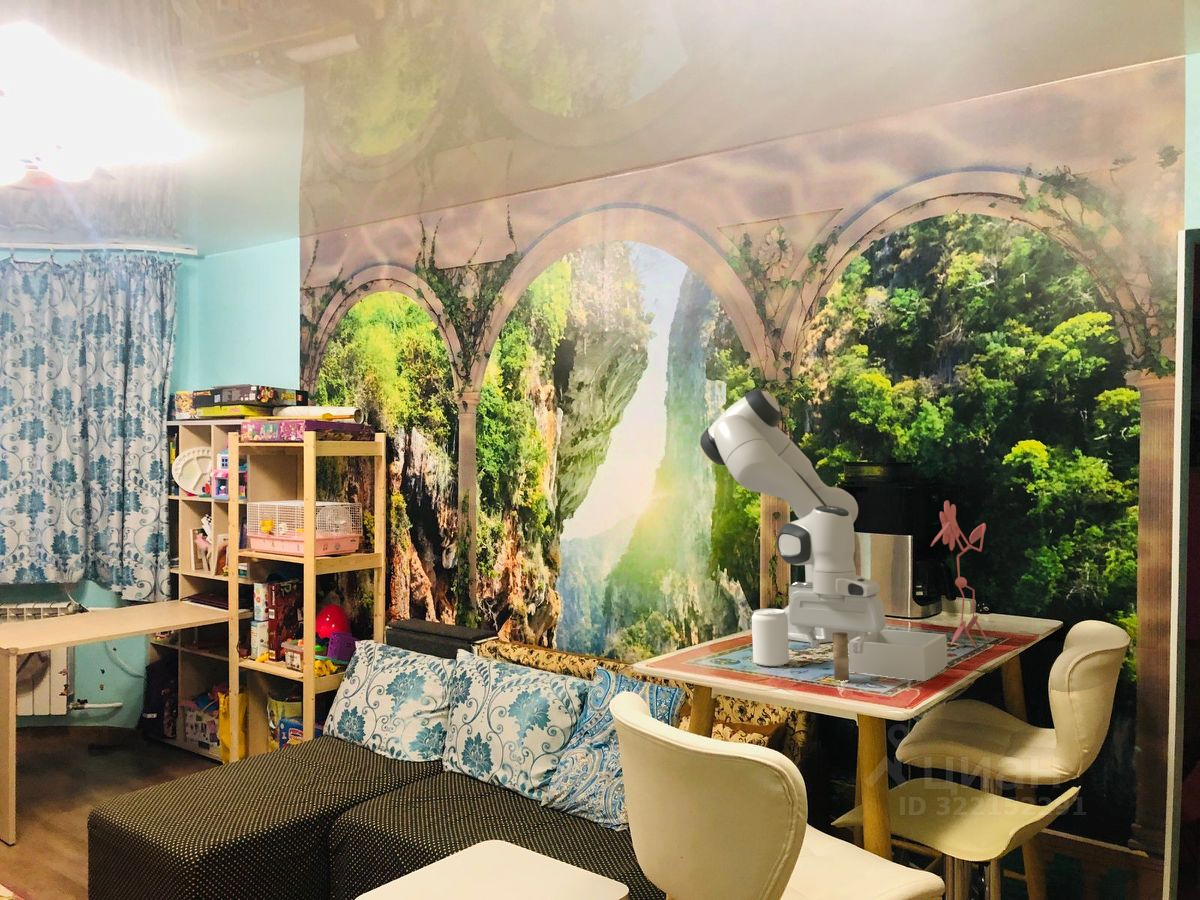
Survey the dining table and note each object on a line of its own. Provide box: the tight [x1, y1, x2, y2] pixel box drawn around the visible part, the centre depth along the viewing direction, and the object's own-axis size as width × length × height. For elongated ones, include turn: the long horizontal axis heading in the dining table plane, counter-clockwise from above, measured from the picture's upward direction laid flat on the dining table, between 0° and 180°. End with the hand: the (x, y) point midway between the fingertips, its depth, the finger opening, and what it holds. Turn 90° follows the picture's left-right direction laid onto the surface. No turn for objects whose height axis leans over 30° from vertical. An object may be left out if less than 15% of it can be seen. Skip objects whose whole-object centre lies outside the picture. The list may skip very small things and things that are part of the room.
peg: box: [832, 632, 850, 681], centre depth 189 cm, size 3×3×10 cm
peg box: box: [848, 628, 948, 682], centre depth 197 cm, size 16×16×7 cm
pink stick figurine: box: [930, 500, 997, 648], centre depth 225 cm, size 15×26×35 cm, turn 141°
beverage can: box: [751, 608, 790, 667], centre depth 207 cm, size 8×8×12 cm
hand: (836, 650), depth 189 cm, fingers open, 8 cm apart
